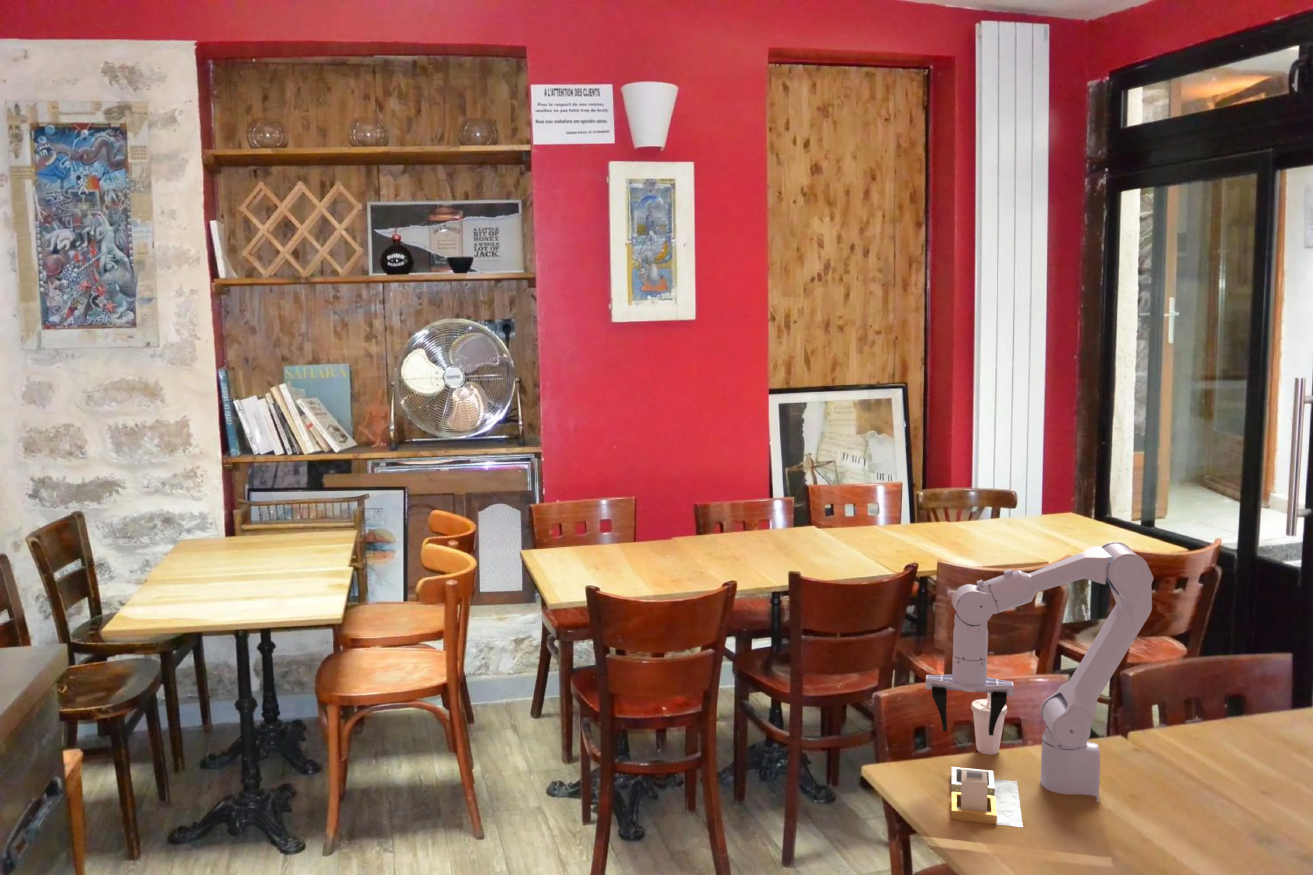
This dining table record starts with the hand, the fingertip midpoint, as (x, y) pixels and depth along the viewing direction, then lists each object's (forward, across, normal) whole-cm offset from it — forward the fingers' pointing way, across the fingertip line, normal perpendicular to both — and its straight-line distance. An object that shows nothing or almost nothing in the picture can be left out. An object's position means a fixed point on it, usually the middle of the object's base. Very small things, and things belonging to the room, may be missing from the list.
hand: (967, 730), depth 192 cm
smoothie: (+10, +4, +14) cm, 18 cm away
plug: (+9, +1, -12) cm, 15 cm away
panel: (+10, +3, -7) cm, 12 cm away
